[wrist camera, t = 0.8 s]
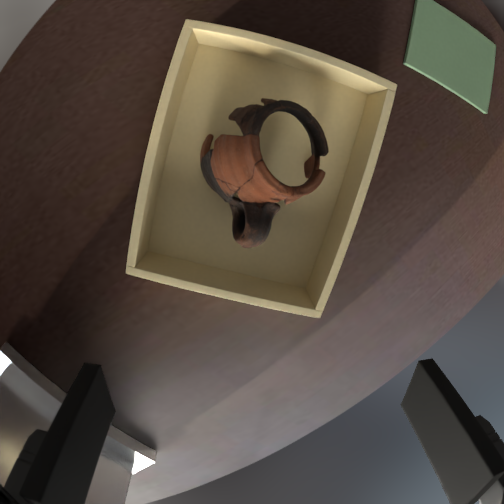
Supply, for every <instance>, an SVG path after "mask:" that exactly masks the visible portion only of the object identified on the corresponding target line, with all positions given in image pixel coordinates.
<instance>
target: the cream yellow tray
mask: <svg viewBox="0 0 504 504" xmlns="http://www.w3.org/2000/svg"><path fill="white" fill-rule="evenodd" d="M396 88H397V84H395V83H393V82H391V81H389V80H387V79H385V78H382V77H380V76H378V75H376V74H374V73H371V72H369V71H367V70H365V69H362V68H360V67H357V66H355V65H353V64H350V63H348V62H345V61H343V60H340V59H337V58H335V57H332V56H329V55H327V54H324V53H321V52H318V51H315V50H313V49H310V48H307V47H304V46H300V45H297V44H294V43H291V42H288V41H284V40H281V39H277V38H274V37H270V36H267V35H263V34H259V33H255V32H251V31H247V30H242V29H238V28H233V27H229V26H224V25H219V24H214V23H208V22H202V21H196V20H190V19H186V21H185V24H184V26H183V29H182V31H181V34H180V37H179V40H178V43H177V46H176V49H175V52H174V55H173V58H172V61H171V64H170V67H169V70H168V74H167V77H166V80H165V83H164V87H163V90H162V94H161V97H160V101H159V104H158V108H157V112H156V116H155V119H154V123H153V127H152V131H151V135H150V139H149V143H148V148H147V152H146V156H145V161H144V166H143V170H142V175H141V180H140V185H139V190H138V195H137V201H136V206H135V212H134V218H133V224H132V230H131V236H130V243H129V250H128V257H127V266H126V274H129V275H133V276H137V277H141V278H144V279H148V280H152V281H156V282H160V283H164V284H168V285H172V286H176V287H180V288H184V289H188V290H192V291H196V292H200V293H204V294H209V295H213V296H217V297H221V298H226V299H230V300H235V301H239V302H243V303H248V304H252V305H257V306H262V307H266V308H271V309H276V310H280V311H285V312H290V313H295V314H300V315H305V316H310V317H315V318H320V317H321V314H322V312H323V310H324V307H325V305H326V302H327V300H328V298H329V295H330V293H331V290H332V288H333V285H334V283H335V280H336V277H337V275H338V272H339V270H340V267H341V264H342V262H343V259H344V256H345V254H346V251H347V248H348V246H349V243H350V240H351V237H352V235H353V232H354V229H355V226H356V223H357V220H358V217H359V215H360V212H361V209H362V206H363V203H364V200H365V197H366V194H367V191H368V187H369V184H370V181H371V178H372V175H373V172H374V168H375V165H376V162H377V158H378V155H379V152H380V148H381V145H382V141H383V138H384V134H385V131H386V127H387V124H388V120H389V116H390V112H391V109H392V105H393V101H394V97H395V92H396ZM262 98H267V99H273V100H277V101H279V100H289V101H292V102H295V103H298V104H299V105H301V106H302V107H304V108H306V109H307V110H308V111H309V112H310V113H311V114H312V116H313V117H315V118H316V120H317V121H318V122H319V124H320V126H321V127H322V129H323V131H324V134H325V137H326V140H327V144H328V149H329V152H328V154H327V155H326V156H320V167H319V169H322V170H323V171H324V172H325V177H324V179H323V181H322V182H321V184H320V185H319V186H318V188H317V189H315V190H314V191H313V192H312V193H310V194H308V195H305V196H302V197H301V198H299V199H297V200H296V201H294V202H292V203H290V204H285V203H284V200H281V201H280V202H275V203H278V204H279V205H280V211H279V212H278V213H277V214H276V215H275V216H274V217H273V220H272V225H271V230H270V232H269V235H268V237H267V239H266V240H265V242H264V243H262V244H261V245H259V246H257V247H252V248H243V247H242V246H241V245H240V244H238V243H237V242H236V241H235V240H234V238H233V233H232V220H233V216H232V211H231V208H230V205H229V203H228V202H225V201H224V199H222V198H221V197H220V196H219V195H218V194H217V193H216V192H215V191H213V190H212V189H211V188H210V186H209V185H208V184H207V182H206V180H205V178H204V176H203V174H202V170H201V166H200V153H201V148H202V145H203V142H204V141H205V139H206V137H207V135H209V134H212V135H213V136H214V137H213V140H212V143H211V147H210V149H214V141H215V140H216V139H217V138H218V137H219V136H220V135H221V134H226V135H239V136H243V134H242V132H241V129H240V127H239V126H238V125H237V123H236V121H231V120H229V119H228V117H229V115H230V114H231V113H232V112H233V111H234V110H235V109H236V108H238V107H245V106H247V105H251V104H259V105H263V106H264V103H262V102H261V99H262ZM259 137H260V149H261V154H262V157H263V160H264V162H265V164H266V166H267V168H268V169H269V171H270V172H271V173H272V175H273V176H274V177H275V178H277V179H278V180H279V181H280V182H282V183H283V184H285V185H288V186H290V187H291V186H300V185H302V184H304V183H305V182H306V181H307V180H308V178H306V177H305V172H304V163H305V161H306V160H307V159H308V158H309V157H310V156H311V155H312V153H311V143H310V139H309V136H308V133H307V131H306V130H305V128H304V127H303V125H302V124H301V123H300V122H299V120H298V119H297V118H296V117H294V116H293V115H291V114H289V113H287V112H275V113H273V114H271V115H270V116H269V117H267V119H266V120H265V121H264V123H263V125H262V128H261V131H260V133H259ZM234 196H235V197H238V194H237V193H236V194H234ZM238 198H239V197H238Z"/></svg>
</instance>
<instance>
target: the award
mask: <svg viewBox="0 0 504 504" xmlns="http://www.w3.org/2000/svg"><path fill="white" fill-rule="evenodd" d="M66 395H67V393H65V392H64V391H63V390H62V389H60V388H59V387H58V386H56V385H55V384H54V383H53V382H51V381H50V380H49V379H48V378H47V377H45V376H44V375H43V374H42V373H41V372H39V371H38V370H37V369H36V368H35V367H34V366H32V365H31V364H30V363H29V362H28V361H27V360H26V359H25V358H23V357H22V356H21V355H20V354H19V353H18V352H17V351H16V350H15V349H14V348H13V347H12V346H11V345H10V344H9V343H7V342H6V343H5V344H4V345H3V346H2V347H1V348H0V484H1V485H2V486H3V487H4V485H5V483H6V481H7V479H8V476H9V474H10V472H11V470H12V468H13V466H14V464H15V462H16V460H17V458H19V454H20V452H21V450H23V446H24V444H25V442H26V440H27V438H28V437H29V436H30V435H31V434H32V433H33V432H34V431H35V430H37V429H40V430H43V431H47V432H48V430H49V428H50V426H51V424H52V422H53V420H54V418H55V416H56V414H57V412H58V410H59V408H60V406H61V404H62V402H63V401H64V399H65V397H66ZM156 455H157V452H156V451H155V450H153V449H151V448H149V447H147V446H146V445H144V444H142V443H140V442H139V441H137V440H135V439H134V438H132V437H130V436H129V435H127V434H125V433H124V432H122V431H120V430H119V429H117V428H116V427H114V426H112V425H110V428H109V431H108V433H107V436H106V439H105V442H104V445H103V448H102V451H101V454H100V457H99V460H98V463H97V466H96V469H95V472H94V475H93V479H92V482H91V485H90V488H89V491H88V495H87V498H86V501H85V504H125V501H126V496H127V492H128V487H129V483H130V479H131V475H132V474H134V473H136V472H138V471H140V470H141V469H143V468H145V467H147V466H149V465H151V464H153V463H155V460H156Z"/></svg>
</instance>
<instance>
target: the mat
mask: <svg viewBox="0 0 504 504" xmlns="http://www.w3.org/2000/svg"><path fill="white" fill-rule="evenodd" d="M495 53H496V45H495V44H494V43H493V42H491V41H490V40H489V39H488V38H486V37H485V36H484V35H483V34H481V33H480V32H479V31H477V30H476V29H475V28H473V27H472V26H471V25H469V24H468V23H466V22H465V21H464V20H462V19H461V18H459V17H458V16H456V15H455V14H453V13H452V12H450V11H449V10H447V9H446V8H444V7H443V6H441V5H440V4H438V3H436V2H435V1H433V0H415V5H414V11H413V17H412V22H411V28H410V33H409V38H408V43H407V48H406V53H405V58H404V62H403V64H404V65H406V66H408V67H410V68H412V69H414V70H415V71H417V72H419V73H421V74H423V75H425V76H426V77H428V78H430V79H432V80H433V81H435V82H437V83H438V84H440V85H442V86H443V87H445V88H447V89H448V90H450V91H451V92H453V93H455V94H456V95H458V96H459V97H461V98H462V99H464V100H465V101H467V102H468V103H470V104H471V105H473V106H474V107H476V108H477V109H478V110H480V111H481V112H483V113H484V114H487V112H488V106H489V100H490V94H491V88H492V80H493V72H494V64H495Z"/></svg>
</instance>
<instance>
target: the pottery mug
mask: <svg viewBox="0 0 504 504" xmlns="http://www.w3.org/2000/svg"><path fill="white" fill-rule="evenodd" d="M261 102H262V103H264V106H263V105H259V104H251V105H247V106H245V107H238V108H236V109H235V110H234V111H233V112H232V113H231V114H230V115H229V117H228V119H229V120H231V121H236V123H237V125H238V126H239V127H240V129H241V132H242V134H243V136H239V135H226V134H221V135H220V136H219V137H218V138H217V139H216V140H215V141H214V149H210V147H211V143H212V140H213V137H214V136H213V135H212V134H209V135H207V137H206V139H205V141H204V142H203V145H202V148H201V153H200V166H201V170H202V174H203V176H204V178H205V180H206V182H207V184H208V185H209V186H210V188H211V189H212V190H213V191H215V192H216V193H217V194H218V195H219V196H220V197H221V198H222V199H224V201H225V202H228V203H229V205H230V208H231V211H232V216H233V220H232V233H233V238H234V240H235V241H236V242H237V243H238V244H240V245H241V246H242V247H243V248H252V247H257V246H259V245H261V244H262V243H264V242H265V240H266V239H267V237H268V235H269V232H270V230H271V225H272V220H273V217H274V216H275V215H276V214H277V213H278V212H279V211H280V205H279V204H278V203H275V202H280V201H281V200H284V203H285V204H290V203H292V202H294V201H296V200H297V199H299V198H301V197H302V196H305V195H308V194H310V193H312V192H313V191H314V190H315V189H317V188H318V186H319V185H320V184H321V182H322V181H323V179H324V177H325V172H324V171H323V170H322V169H319V167H320V156H326V155H327V154H328V152H329V149H328V144H327V140H326V137H325V134H324V131H323V129H322V127H321V126H320V124H319V122H318V121H317V120H316V118H315V117H313V116H312V114H311V113H310V112H309V111H308V110H307V109H306V108H304V107H302V106H301V105H299V104H298V103H295V102H292V101H289V100H279V101H277V100H273V99H267V98H262V99H261ZM275 112H287V113H289V114H291V115H293V116H294V117H296V118H297V119H298V120H299V122H300V123H301V124H302V125H303V127H304V128H305V130H306V131H307V133H308V136H309V139H310V143H311V153H312V155H311V156H310V157H309V158H308V159H307V160H306V161H305V163H304V172H305V177H306V178H308V180H307V181H306V182H305V183H304V184H302V185H300V186H291V187H290V186H288V185H285V184H283V183H282V182H280V181H279V180H278V179H277V178H275V177H274V176H273V175H272V173H271V172H270V171H269V169H268V168H267V166H266V164H265V162H264V160H263V157H262V154H261V149H260V137H259V133H260V131H261V128H262V125H263V123H264V121H265V120H266V119H267V117H269V116H270V115H271V114H273V113H275ZM236 193H237V194H238V197H239V198H238V197H235V196H234V194H236Z"/></svg>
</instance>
